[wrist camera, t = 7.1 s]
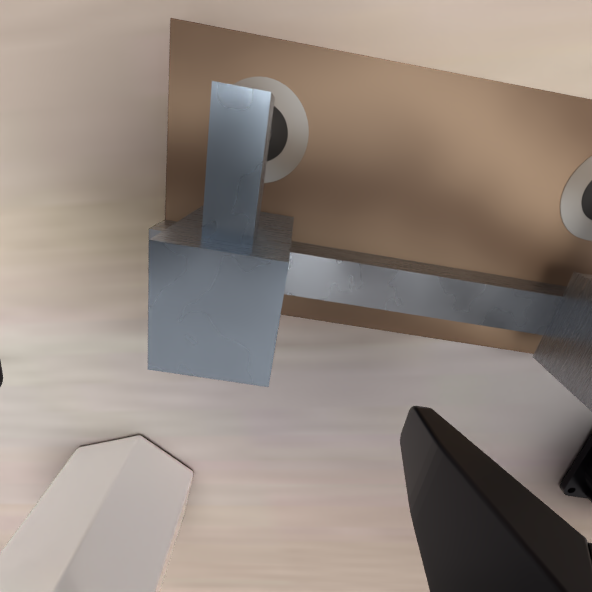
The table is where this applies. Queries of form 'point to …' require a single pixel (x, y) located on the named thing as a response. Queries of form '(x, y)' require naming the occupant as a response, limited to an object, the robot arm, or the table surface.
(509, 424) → the table surface
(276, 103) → the hole plate
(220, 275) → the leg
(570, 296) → the beam
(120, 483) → the jar
